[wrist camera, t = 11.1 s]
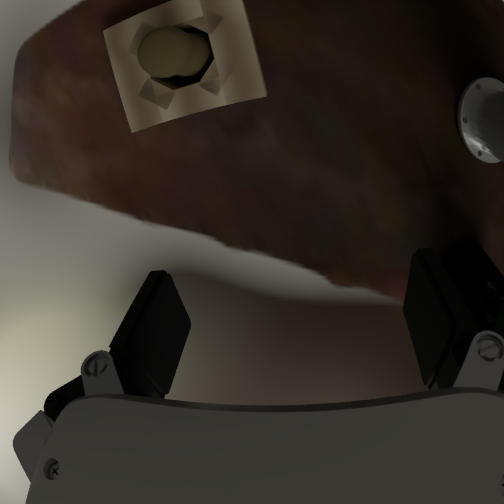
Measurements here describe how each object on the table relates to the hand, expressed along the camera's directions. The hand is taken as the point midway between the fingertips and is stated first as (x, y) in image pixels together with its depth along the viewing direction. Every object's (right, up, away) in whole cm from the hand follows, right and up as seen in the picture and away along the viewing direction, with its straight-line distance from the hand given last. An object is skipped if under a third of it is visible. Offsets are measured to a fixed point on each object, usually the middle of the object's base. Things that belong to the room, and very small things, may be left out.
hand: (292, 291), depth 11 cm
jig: (-9, +24, +18) cm, 32 cm away
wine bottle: (+34, -1, +31) cm, 46 cm away
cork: (-8, +25, +18) cm, 32 cm away
